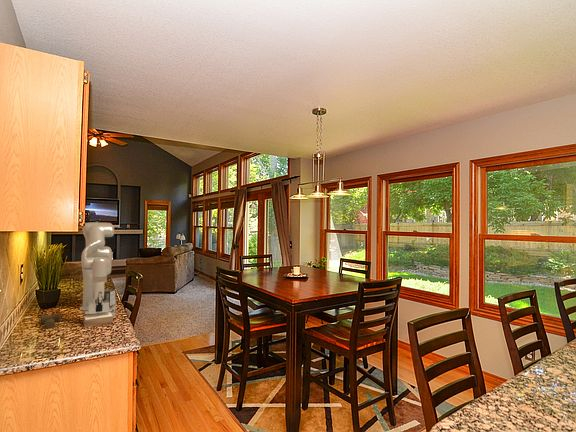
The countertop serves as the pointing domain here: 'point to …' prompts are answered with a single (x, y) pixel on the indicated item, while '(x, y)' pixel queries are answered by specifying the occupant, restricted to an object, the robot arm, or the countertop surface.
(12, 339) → the countertop surface
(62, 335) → the countertop surface
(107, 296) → the coffee box
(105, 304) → the housing
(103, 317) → the stand
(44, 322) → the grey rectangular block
